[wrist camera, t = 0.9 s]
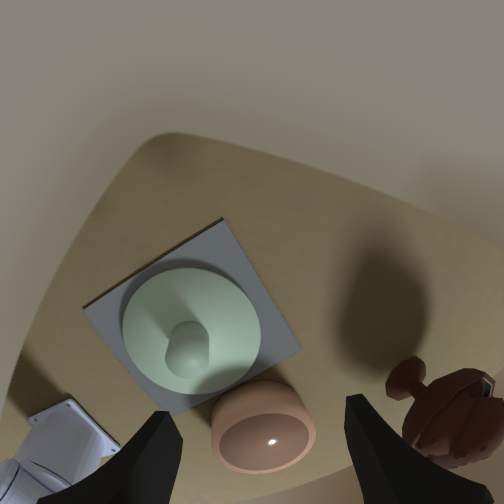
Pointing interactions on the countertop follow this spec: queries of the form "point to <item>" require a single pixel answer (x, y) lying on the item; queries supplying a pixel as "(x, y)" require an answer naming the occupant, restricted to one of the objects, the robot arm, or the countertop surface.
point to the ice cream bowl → (449, 414)
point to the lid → (191, 330)
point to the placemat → (210, 258)
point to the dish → (260, 428)
